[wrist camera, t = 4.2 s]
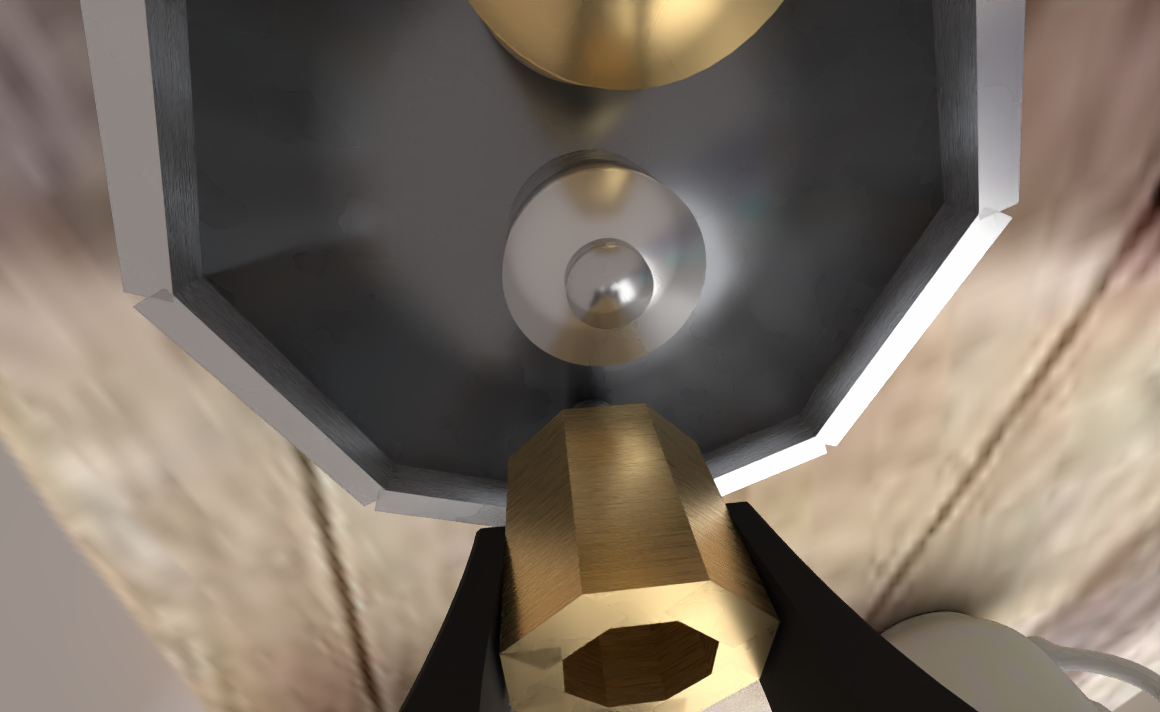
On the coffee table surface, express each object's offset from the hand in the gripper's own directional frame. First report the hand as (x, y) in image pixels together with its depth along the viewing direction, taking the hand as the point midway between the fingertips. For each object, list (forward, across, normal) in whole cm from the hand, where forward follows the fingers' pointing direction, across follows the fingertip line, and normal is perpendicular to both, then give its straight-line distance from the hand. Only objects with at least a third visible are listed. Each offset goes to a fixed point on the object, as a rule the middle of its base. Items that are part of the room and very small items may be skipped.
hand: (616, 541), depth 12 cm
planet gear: (+2, 0, 0) cm, 2 cm away
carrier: (+6, 0, -6) cm, 9 cm away
